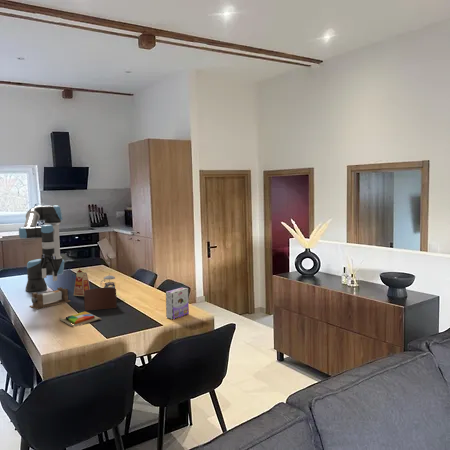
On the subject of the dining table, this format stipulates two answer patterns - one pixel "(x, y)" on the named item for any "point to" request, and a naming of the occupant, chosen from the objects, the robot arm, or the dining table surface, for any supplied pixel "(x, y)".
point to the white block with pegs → (50, 297)
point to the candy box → (177, 303)
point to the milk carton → (81, 283)
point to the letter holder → (100, 299)
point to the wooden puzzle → (80, 318)
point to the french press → (109, 277)
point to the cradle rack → (40, 305)
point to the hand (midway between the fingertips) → (49, 279)
